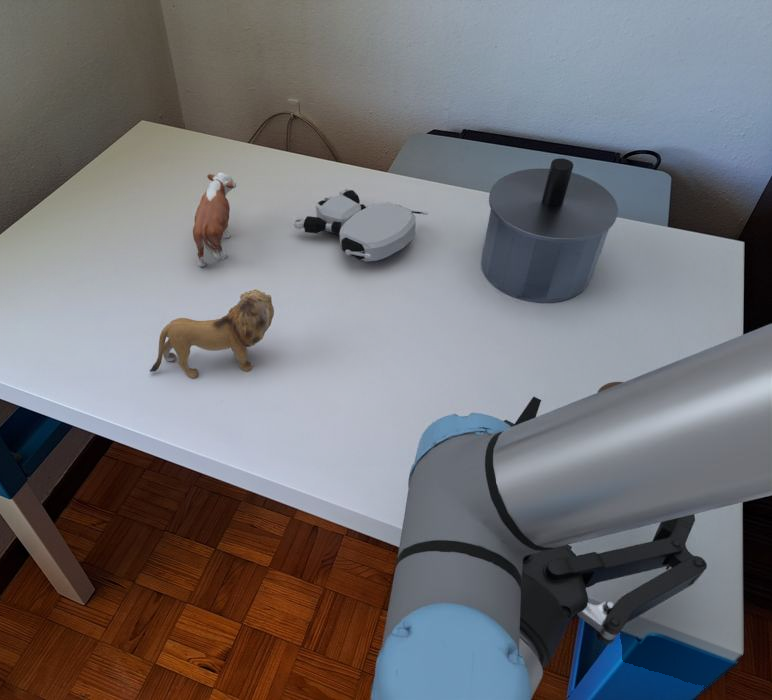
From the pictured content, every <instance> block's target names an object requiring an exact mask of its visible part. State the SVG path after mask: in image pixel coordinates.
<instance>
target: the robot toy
mask: <svg viewBox="0 0 772 700" xmlns="http://www.w3.org/2000/svg"><path fill="white" fill-rule="evenodd" d="M360 202H361V200H360V196H359V195H358V194H357V192H356V191H355V190H353V189H350V188H345V189H342V190H340V191H339V195H336V196H326V197H324V200H323V199H322V200H320V201H318V202H316V204H315V212H316V213H315V214H316V216H310V215H308V216H306V217H305V218H303V217H298V218H296V219H295V220H294V222H293V227H294V228H295V229H298V230H300V229H304V233H311V234H319V233H321V232H324V231H326V232H329V233H331V234H336V235H339V244H340V245H339V247H341V250H342V252H343V253H344V254H345V255H346V256H351V257H353V258H354V259H357V260H359V261H364V262H365V263H366V262H368V263H369V262H376V261H377V262H378V261H381V260H383V259H386V258H388V257H390V256H392V255H394V254H395V253H397V252H399V251H401V250H403V249H404V248H405V247H406V246H407V245H408V244H409V242H411V241H412V239H413V238H414V236H415V235H416V219H417V218H416V216H415V214H417V215H422V216H427V215H429V214H430V213H429V212H428V211H427V210H412V209H410V208H407V207H403V206H401V205H398V204H396V203H393V202H390V201H388V202H387V201H386V202H378V203H373V204H372V205H369V206H366V205H365V204H361V203H360Z"/></svg>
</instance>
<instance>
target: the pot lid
mask: <svg viewBox="0 0 772 700" xmlns="http://www.w3.org/2000/svg"><path fill="white" fill-rule="evenodd" d="M573 169H574V163H573V161H571V160H569V159H567V158H560V157H559V158H555V159H553V160H552V161H551V163H550V166H549V168H539V167H537V168H528V169H522V170H517V171H514V172H512V173H509V174H506V175H504V176H503V177H501V178H500V179H498V180H497V181H496V182H495V183H494V184H493V185H492V187H491V188H490V191H489V194H488V206H489V208H490V211H491V210H492V212H493V214H494V215H495V216H496V217H497V219H498V220H499V221H501V222H502V223H503V224H504V225H506V226H507V227H509V228H510V229H512V230H514V231H516V232H518V233H520V234H523V235H525V236H528V237H532V238H535V239H539V240H545V241H551V242H578V241H584V240H588V239H592V238H595V237H597V236H600V235H601V234H603V233H605V232H606V231H608V232H609V230H610V229H611V228H612V227H613V226H614V224H615V223H616V221H617V217H618V213H619V209H618V208H619V207H618V203H617V201H616V199H615V197H614V196H613V195H612V194H611V193H610V191H609V190H607V189H606V188H605V187H604V186H602V185H601V184H600V183H598V182H597V181H595V180H593V179H591V178H588V177H587V176H584V175H581V174H578V173H575V172H573Z"/></svg>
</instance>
